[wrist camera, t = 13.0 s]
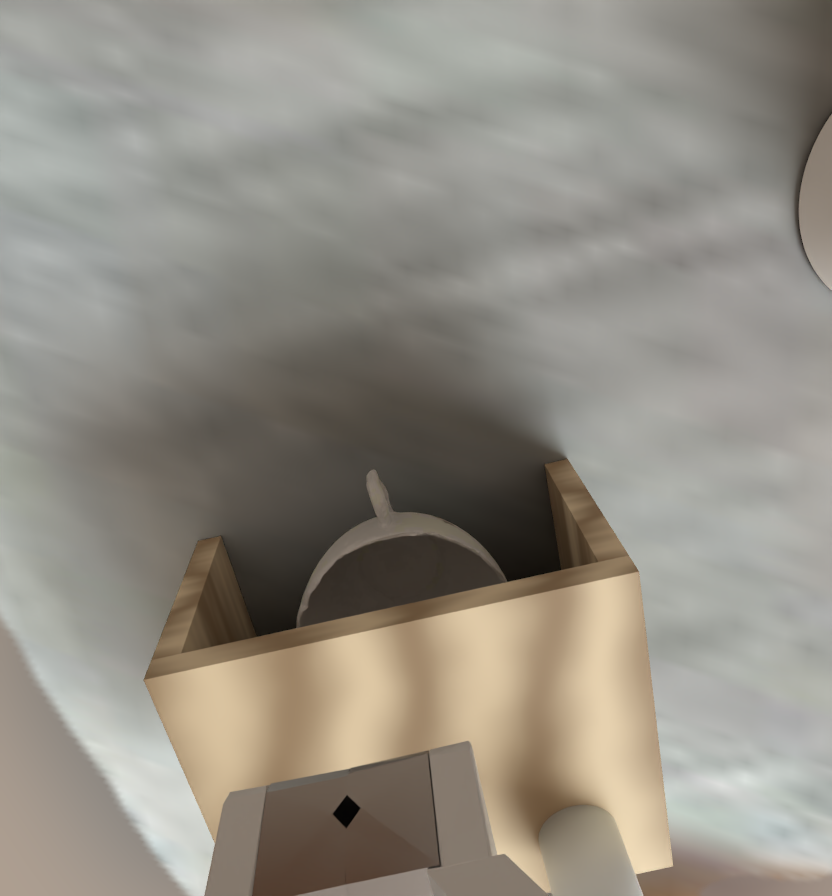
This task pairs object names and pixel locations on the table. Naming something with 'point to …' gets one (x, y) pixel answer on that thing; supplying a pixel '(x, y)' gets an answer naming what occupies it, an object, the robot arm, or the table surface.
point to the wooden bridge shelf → (435, 689)
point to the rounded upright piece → (586, 854)
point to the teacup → (394, 563)
